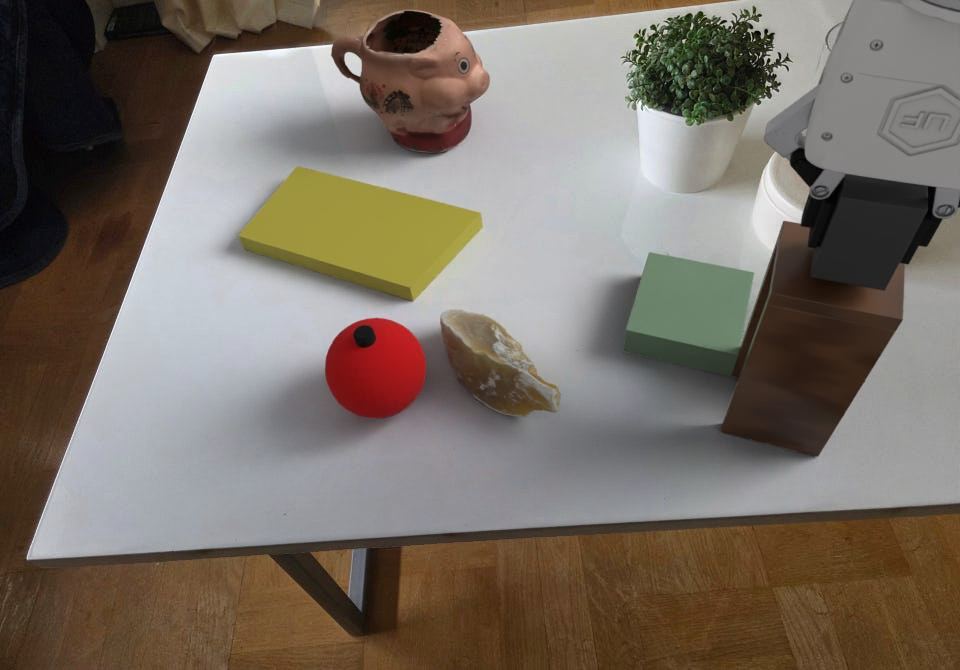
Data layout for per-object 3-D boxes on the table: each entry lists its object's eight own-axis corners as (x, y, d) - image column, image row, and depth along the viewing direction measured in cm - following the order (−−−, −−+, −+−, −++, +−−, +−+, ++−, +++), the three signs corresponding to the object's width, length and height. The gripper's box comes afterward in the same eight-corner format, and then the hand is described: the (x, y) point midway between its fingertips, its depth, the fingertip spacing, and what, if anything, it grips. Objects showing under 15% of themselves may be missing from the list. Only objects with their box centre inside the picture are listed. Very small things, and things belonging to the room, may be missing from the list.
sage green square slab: (746, 295, 72) (754, 272, 69) (731, 377, 67) (738, 355, 64) (645, 274, 75) (649, 251, 72) (622, 351, 69) (625, 329, 67)
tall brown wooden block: (825, 389, 65) (906, 241, 50) (818, 457, 61) (903, 319, 46) (732, 368, 67) (783, 220, 52) (720, 432, 63) (770, 293, 48)
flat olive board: (244, 249, 82) (434, 307, 75) (237, 235, 80) (431, 294, 73) (302, 179, 88) (482, 227, 81) (297, 165, 86) (481, 212, 79)
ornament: (444, 362, 70) (429, 297, 62) (417, 444, 65) (397, 384, 57) (357, 349, 72) (332, 283, 64) (324, 427, 67) (292, 367, 59)
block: (887, 241, 49) (928, 158, 43) (884, 291, 46) (928, 210, 41) (816, 229, 50) (847, 147, 44) (809, 277, 48) (841, 197, 42)
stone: (455, 278, 68) (576, 363, 60) (477, 310, 73) (591, 392, 65) (404, 334, 67) (520, 429, 59) (430, 363, 72) (540, 453, 65)
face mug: (328, 153, 91) (296, 52, 80) (364, 93, 98) (339, -7, 86) (482, 172, 86) (470, 67, 75) (508, 108, 93) (501, 4, 82)
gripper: (776, -22, 33) (712, 257, 47) (1241, 14, 28) (1011, 312, 42) (794, -99, 37) (730, 180, 51) (1203, -78, 32) (1005, 223, 46)
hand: (858, 238), depth 47 cm, fingers closed on block, 4 cm apart
